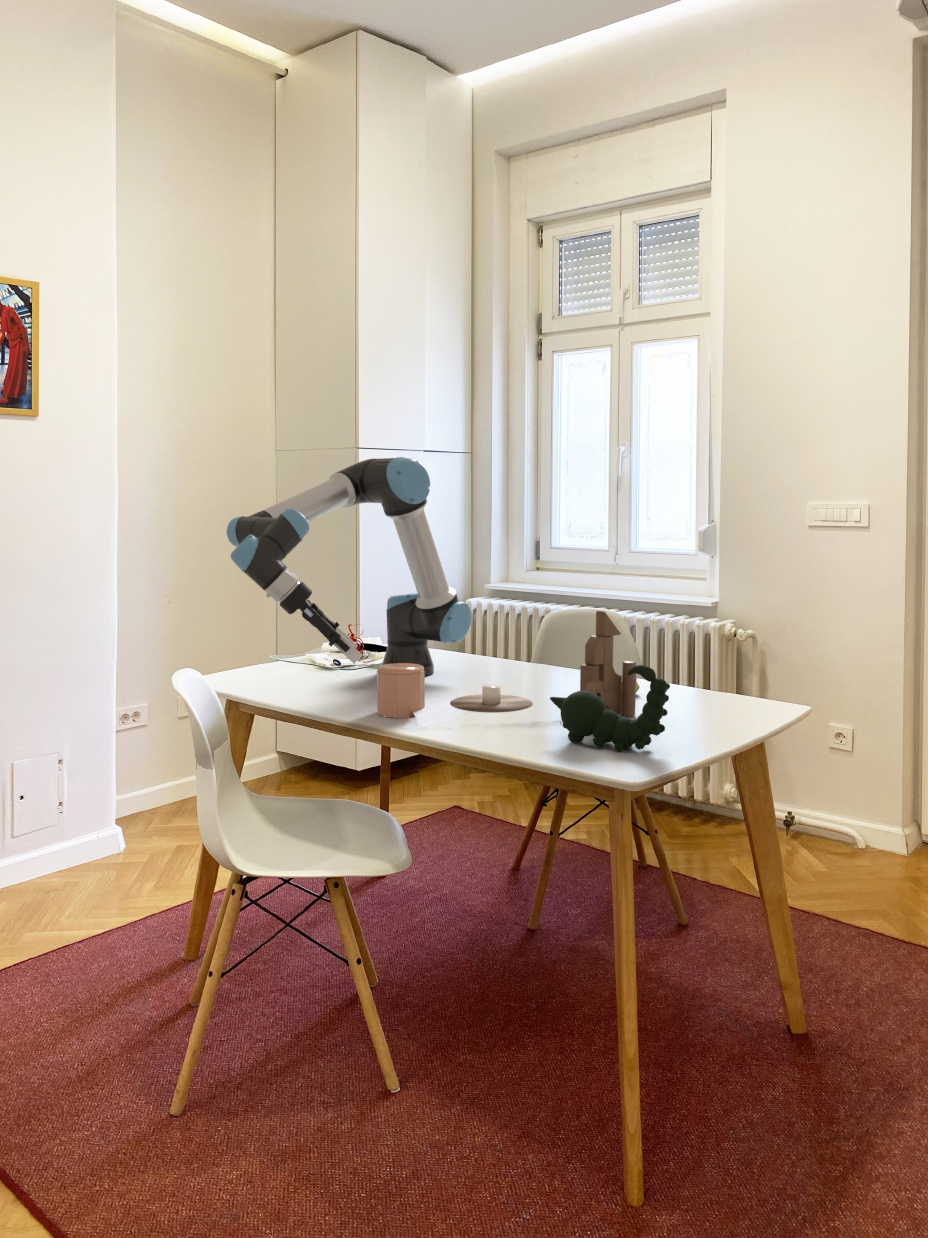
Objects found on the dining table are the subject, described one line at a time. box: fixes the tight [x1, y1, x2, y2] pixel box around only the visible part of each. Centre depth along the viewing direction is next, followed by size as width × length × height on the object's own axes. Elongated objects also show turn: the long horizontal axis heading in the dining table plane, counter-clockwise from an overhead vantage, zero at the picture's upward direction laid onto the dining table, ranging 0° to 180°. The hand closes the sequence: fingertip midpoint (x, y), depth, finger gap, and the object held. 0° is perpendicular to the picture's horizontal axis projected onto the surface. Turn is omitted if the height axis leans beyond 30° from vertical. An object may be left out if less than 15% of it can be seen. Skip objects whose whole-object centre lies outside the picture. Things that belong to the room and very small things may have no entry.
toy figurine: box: [549, 664, 671, 753], centre depth 197 cm, size 9×19×25 cm
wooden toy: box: [579, 610, 637, 718], centre depth 221 cm, size 15×7×25 cm, turn 130°
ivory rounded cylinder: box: [481, 684, 502, 705], centre depth 232 cm, size 4×4×4 cm
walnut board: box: [449, 693, 534, 713], centre depth 232 cm, size 20×20×2 cm
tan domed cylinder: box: [376, 663, 426, 719], centre depth 228 cm, size 11×11×11 cm
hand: (356, 654), depth 224 cm, fingers open, 13 cm apart
